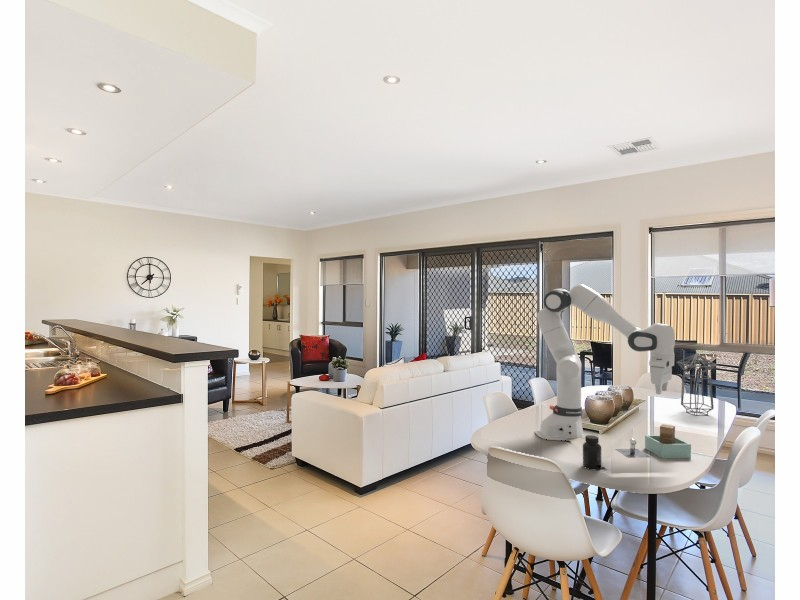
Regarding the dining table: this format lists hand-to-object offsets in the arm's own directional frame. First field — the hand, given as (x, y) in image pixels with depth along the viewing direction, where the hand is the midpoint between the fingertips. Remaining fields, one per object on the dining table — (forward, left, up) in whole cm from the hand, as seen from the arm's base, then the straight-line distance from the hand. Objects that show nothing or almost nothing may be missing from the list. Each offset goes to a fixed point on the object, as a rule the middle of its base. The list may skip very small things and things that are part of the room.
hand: (661, 392), depth 194 cm
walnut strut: (-1, -6, -25) cm, 26 cm away
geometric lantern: (+61, +61, -26) cm, 90 cm away
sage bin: (-1, -6, -26) cm, 26 cm away
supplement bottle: (-39, -17, -26) cm, 50 cm away
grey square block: (-16, -6, -26) cm, 31 cm away
